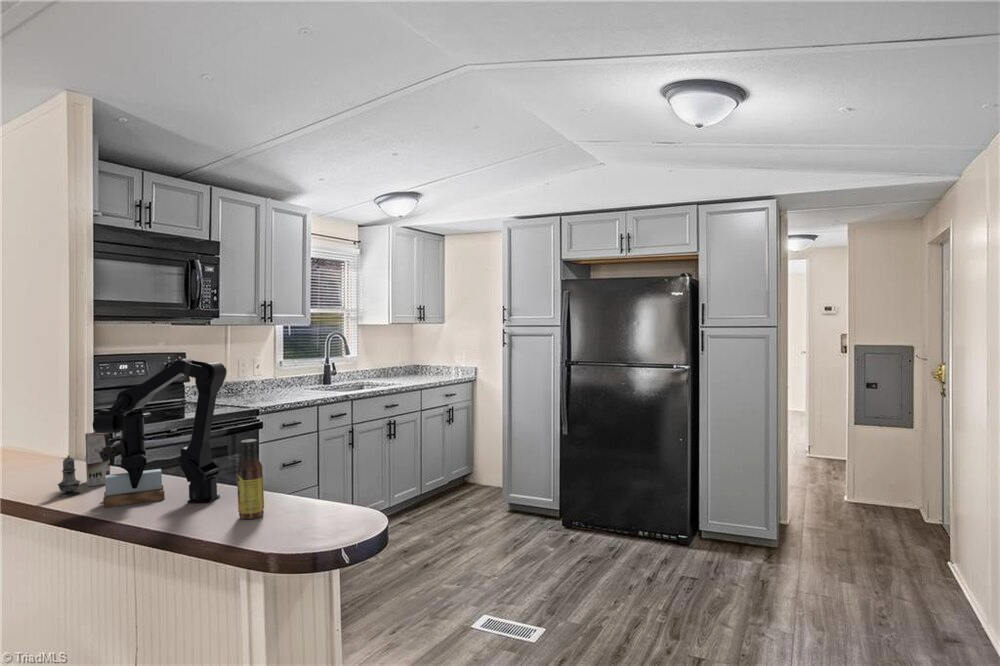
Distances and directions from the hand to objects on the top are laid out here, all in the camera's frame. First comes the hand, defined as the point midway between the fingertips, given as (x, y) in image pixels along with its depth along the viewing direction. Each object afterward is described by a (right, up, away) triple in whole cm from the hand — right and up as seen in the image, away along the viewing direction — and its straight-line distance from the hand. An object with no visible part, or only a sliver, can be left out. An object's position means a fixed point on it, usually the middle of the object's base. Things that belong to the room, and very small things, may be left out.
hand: (134, 486), depth 186 cm
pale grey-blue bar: (0, -1, 0) cm, 1 cm away
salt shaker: (-24, -5, +8) cm, 26 cm away
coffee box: (-25, -5, +23) cm, 34 cm away
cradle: (0, -4, 0) cm, 4 cm away
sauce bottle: (+41, -3, -20) cm, 46 cm away
